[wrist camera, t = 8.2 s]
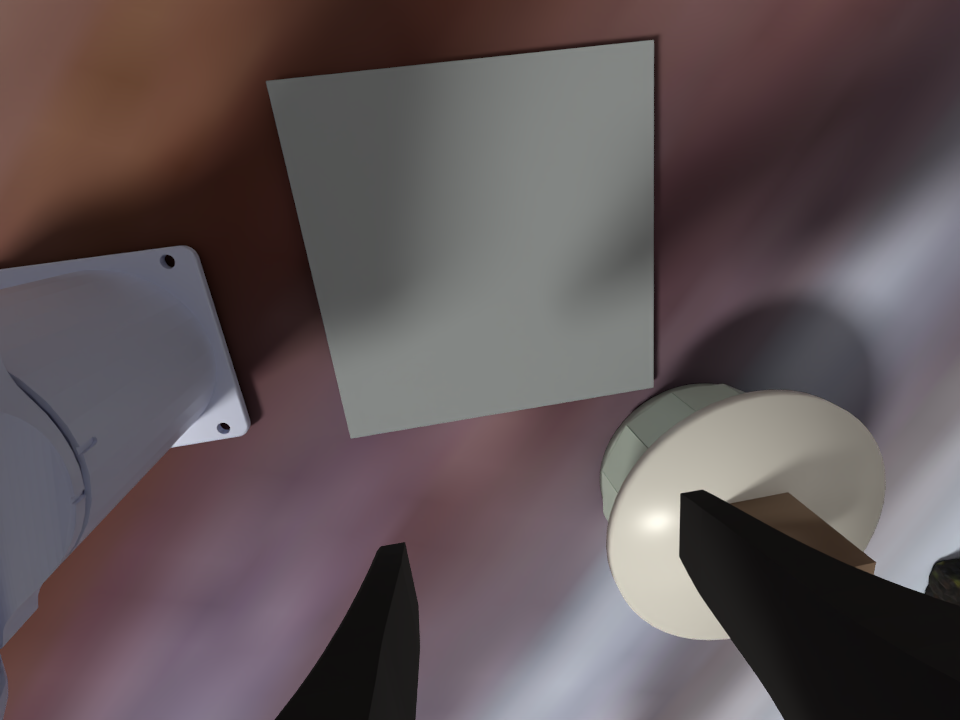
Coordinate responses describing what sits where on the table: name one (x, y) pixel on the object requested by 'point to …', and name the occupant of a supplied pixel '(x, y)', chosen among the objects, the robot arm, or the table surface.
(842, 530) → the lid
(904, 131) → the table surface
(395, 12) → the table surface
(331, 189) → the mat
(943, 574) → the candle
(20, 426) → the robot arm
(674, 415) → the bowl
